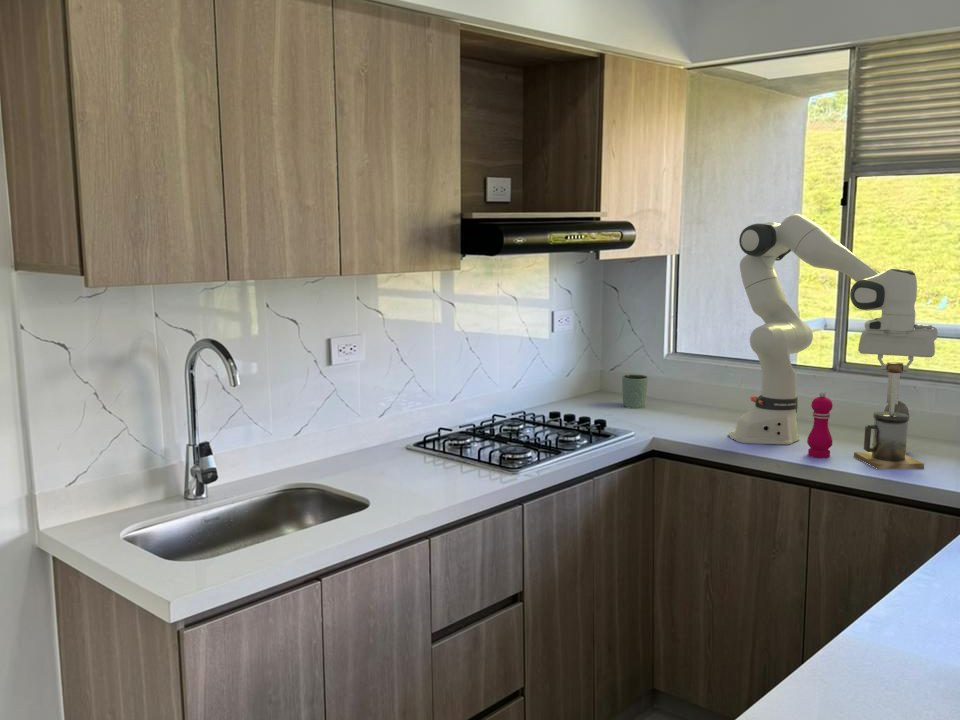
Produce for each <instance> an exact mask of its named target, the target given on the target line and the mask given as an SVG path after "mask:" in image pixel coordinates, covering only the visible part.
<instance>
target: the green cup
mask: <svg viewBox="0 0 960 720" xmlns="http://www.w3.org/2000/svg"><path fill="white" fill-rule="evenodd" d="M621 379H622V381H621V383H622V385H621V386H622V389H621V390H622V407H624V406H625V407H624V408H626V407H630V408H629V409H642V408H643V407H644V408H645V406H646V400H647V399H646V398H647V389H648V383H649V381H648V380H649V377H648V376H647V375H644V374H635V373H634V374H623V375H622V376H621ZM644 408H643V409H644Z"/></svg>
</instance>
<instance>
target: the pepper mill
mask: <svg viewBox="0 0 960 720" xmlns="http://www.w3.org/2000/svg"><path fill="white" fill-rule="evenodd" d="M826 396H827V395H826V392H824V391H820V392H819V396H817V397H814V399H812V400H811V407H810V408H811V409H812V410H813V412H812V417H813V426H812V428H811V430H810V433H809V434H808V435H807V436H808V437H807V441H806V442H807V445H808V446H809V448H808V451H807V455H808V456H809V457H812V458H816V459H829V458H830V456H831V450H830V448H831V447H832V446H833V436H832V435H831V432H830V429H829V419H831V410H832V409H833V406H834V404H833V402H832V401H833V400H831V399H830V398H829V397H826ZM828 457H829V458H828Z"/></svg>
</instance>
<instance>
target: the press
mask: <svg viewBox="0 0 960 720" xmlns="http://www.w3.org/2000/svg"><path fill="white" fill-rule="evenodd" d="M894 408H895V404H890V406H889V412H884V411H876V412H874V413H873V415H872V416H873V418H874V419H873V424H867V425H865V426H864V440H863V441H864V443H863V450H864V451H865V452H872V457H873V458H875V459H878V460H883V461H891V462H900V461H904V460H905V455H907V454H906V453H907V452H906V451H907V441H908V440H907V439H908V426H909V421H910V414H909V415H906V414H902V413H897V412H894ZM872 430H873V431H872ZM872 432H873V435H872ZM871 437H872V447H871Z"/></svg>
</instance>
